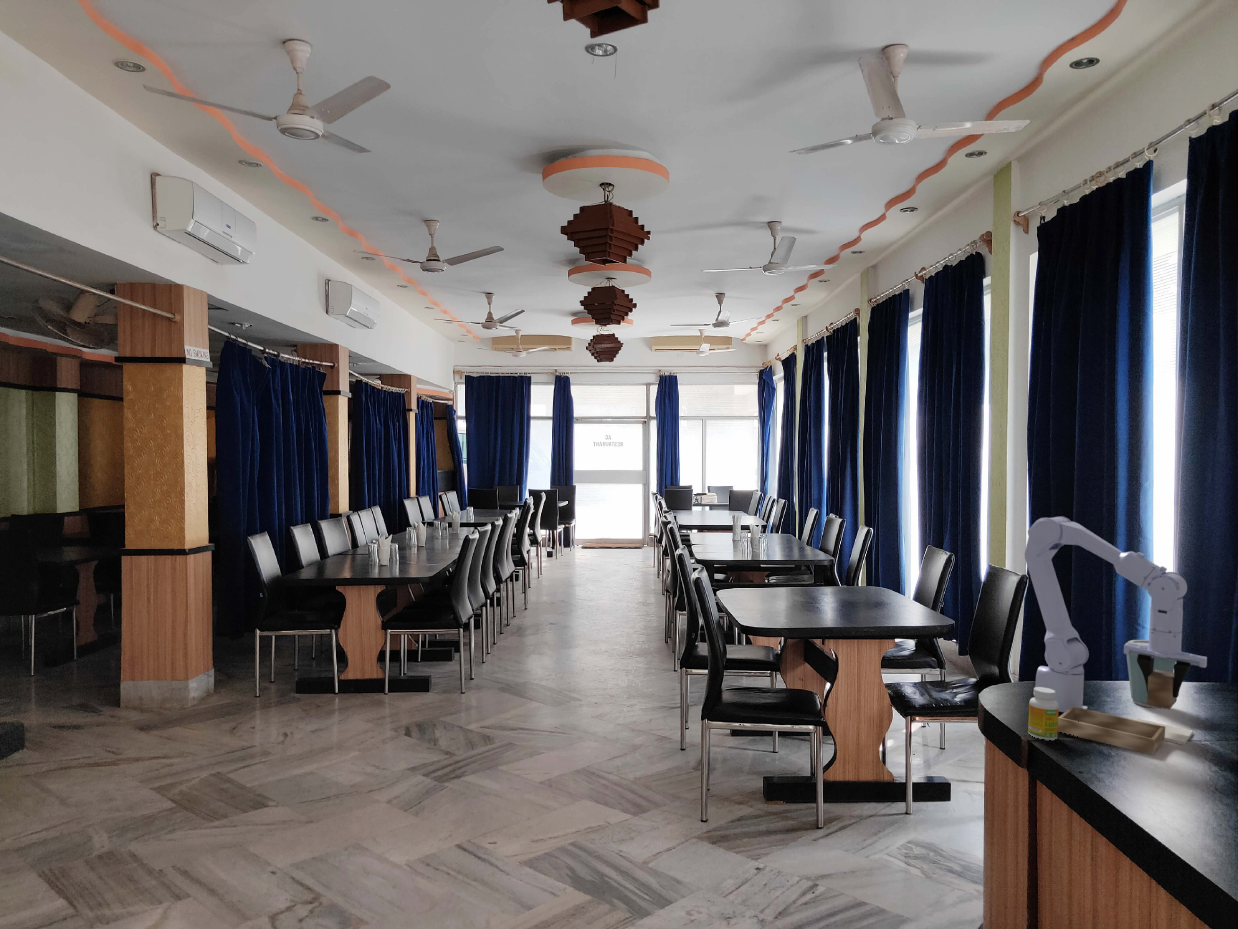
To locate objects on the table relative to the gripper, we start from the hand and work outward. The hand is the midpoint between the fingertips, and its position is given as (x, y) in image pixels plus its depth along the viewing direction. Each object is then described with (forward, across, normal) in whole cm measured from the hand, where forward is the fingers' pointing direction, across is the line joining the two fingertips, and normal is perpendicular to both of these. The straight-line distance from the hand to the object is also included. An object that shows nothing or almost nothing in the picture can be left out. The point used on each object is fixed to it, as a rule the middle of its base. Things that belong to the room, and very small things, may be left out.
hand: (1162, 694), depth 172 cm
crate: (+8, -7, -11) cm, 15 cm away
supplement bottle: (+8, -17, -22) cm, 29 cm away
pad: (+8, 0, 0) cm, 8 cm away
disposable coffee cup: (+8, -6, +22) cm, 24 cm away
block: (+2, 0, 0) cm, 2 cm away
